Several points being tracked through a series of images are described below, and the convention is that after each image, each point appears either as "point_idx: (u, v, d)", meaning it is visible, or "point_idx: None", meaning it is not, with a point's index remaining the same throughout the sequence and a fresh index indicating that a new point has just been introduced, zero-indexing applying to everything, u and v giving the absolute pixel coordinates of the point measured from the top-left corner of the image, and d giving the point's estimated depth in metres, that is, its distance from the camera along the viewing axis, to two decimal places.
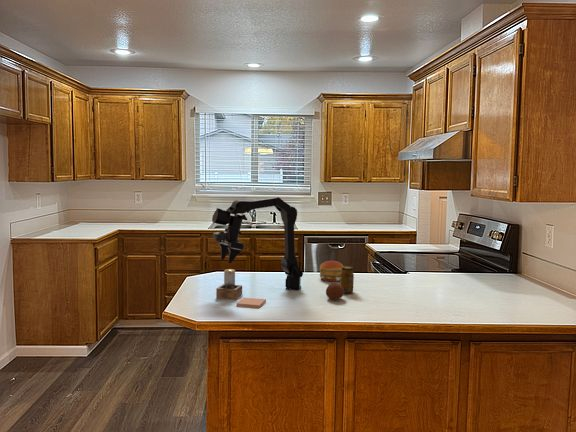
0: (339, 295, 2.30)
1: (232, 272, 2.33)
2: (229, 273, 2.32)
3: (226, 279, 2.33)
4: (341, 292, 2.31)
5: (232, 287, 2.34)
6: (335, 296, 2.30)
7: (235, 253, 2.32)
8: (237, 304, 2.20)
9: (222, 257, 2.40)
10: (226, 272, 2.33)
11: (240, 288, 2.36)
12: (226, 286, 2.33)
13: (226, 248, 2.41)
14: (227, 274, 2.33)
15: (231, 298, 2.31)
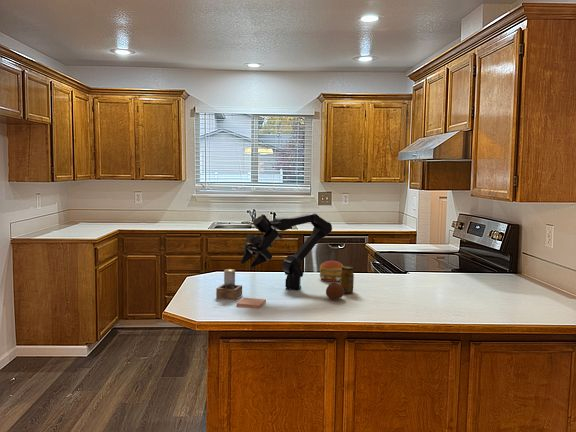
0: (339, 295, 2.30)
1: (232, 272, 2.33)
2: (229, 273, 2.32)
3: (226, 279, 2.33)
4: (341, 292, 2.31)
5: (232, 287, 2.34)
6: (335, 296, 2.30)
7: (260, 260, 2.36)
8: (237, 304, 2.20)
9: (242, 261, 2.43)
10: (226, 272, 2.33)
11: (240, 288, 2.36)
12: (226, 286, 2.33)
13: (249, 255, 2.45)
14: (227, 274, 2.33)
15: (231, 298, 2.31)
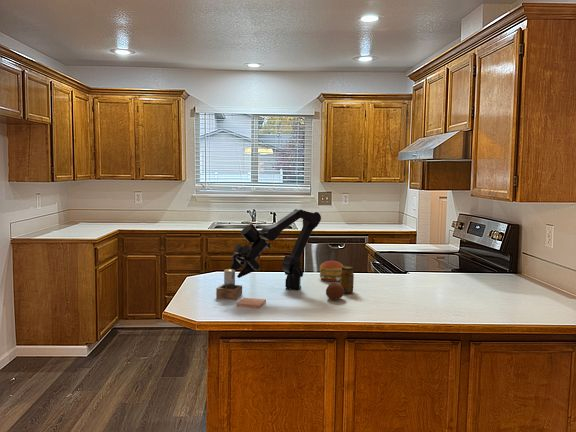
0: (339, 295, 2.30)
1: (232, 272, 2.33)
2: (229, 273, 2.32)
3: (226, 279, 2.33)
4: (341, 292, 2.31)
5: (232, 287, 2.34)
6: (335, 296, 2.30)
7: (248, 271, 2.33)
8: (237, 304, 2.20)
9: None
10: (226, 272, 2.33)
11: (240, 288, 2.36)
12: (226, 286, 2.33)
13: (237, 265, 2.42)
14: (227, 274, 2.33)
15: (231, 298, 2.31)
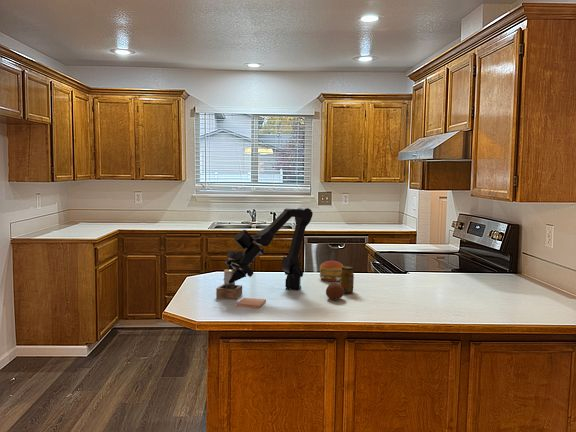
0: (339, 295, 2.30)
1: (232, 272, 2.33)
2: (229, 273, 2.32)
3: (226, 279, 2.33)
4: (341, 292, 2.31)
5: (232, 287, 2.34)
6: (335, 296, 2.30)
7: (239, 276, 2.33)
8: (237, 304, 2.20)
9: None
10: (226, 272, 2.33)
11: (240, 288, 2.36)
12: (226, 286, 2.33)
13: None
14: (227, 274, 2.33)
15: (231, 298, 2.31)
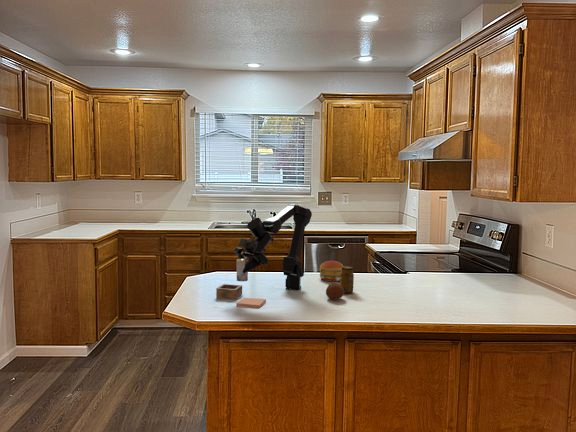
0: (339, 295, 2.30)
1: (246, 261, 2.24)
2: (243, 262, 2.24)
3: (239, 269, 2.24)
4: (341, 292, 2.31)
5: (246, 277, 2.25)
6: (335, 296, 2.30)
7: (253, 265, 2.25)
8: (237, 304, 2.20)
9: None
10: (239, 261, 2.24)
11: (240, 288, 2.36)
12: (239, 276, 2.24)
13: None
14: (241, 263, 2.24)
15: (231, 298, 2.31)
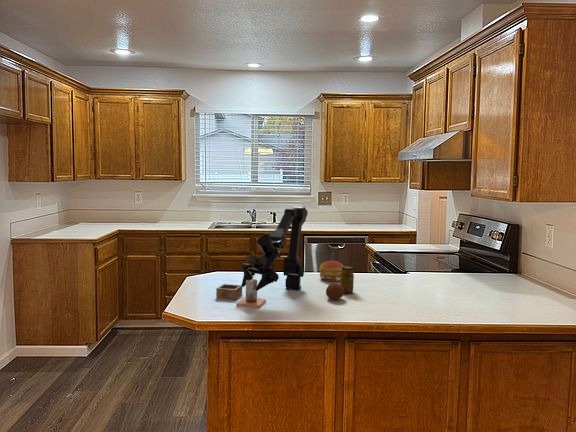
0: (339, 295, 2.30)
1: (255, 282, 2.22)
2: (253, 283, 2.21)
3: (249, 290, 2.21)
4: (341, 292, 2.31)
5: (255, 298, 2.23)
6: (335, 296, 2.30)
7: (266, 282, 2.21)
8: (237, 304, 2.20)
9: (243, 284, 2.26)
10: (249, 282, 2.21)
11: (240, 288, 2.36)
12: (249, 297, 2.22)
13: (249, 277, 2.29)
14: (250, 284, 2.21)
15: (231, 298, 2.31)
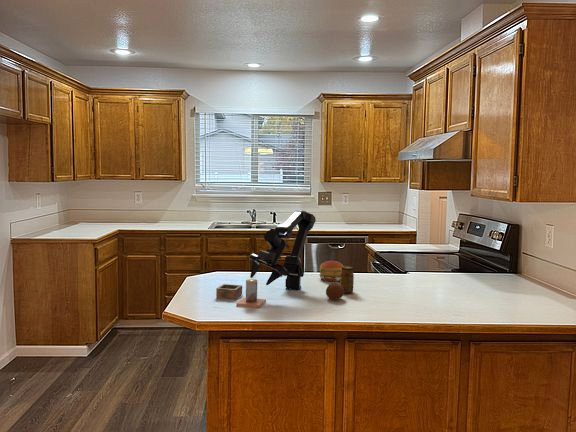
0: (339, 295, 2.30)
1: (255, 282, 2.22)
2: (253, 283, 2.21)
3: (249, 290, 2.21)
4: (341, 292, 2.31)
5: (256, 298, 2.23)
6: (335, 296, 2.30)
7: (275, 277, 2.32)
8: (237, 304, 2.20)
9: (252, 275, 2.36)
10: (249, 282, 2.21)
11: (240, 288, 2.36)
12: (249, 297, 2.22)
13: (257, 267, 2.38)
14: (251, 284, 2.21)
15: (231, 298, 2.31)
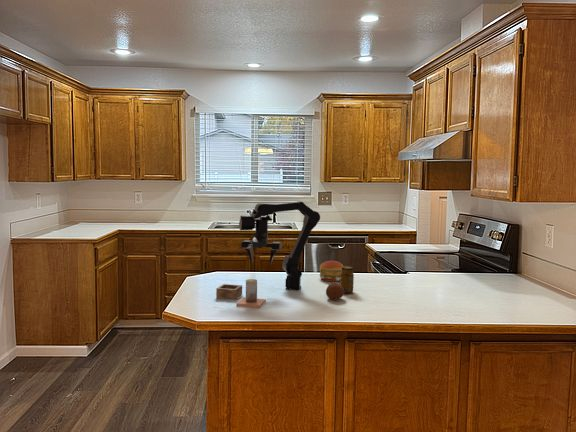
0: (339, 295, 2.30)
1: (255, 282, 2.22)
2: (253, 283, 2.21)
3: (249, 290, 2.21)
4: (341, 292, 2.31)
5: (256, 298, 2.23)
6: (335, 296, 2.30)
7: (274, 252, 2.47)
8: (237, 304, 2.20)
9: (252, 260, 2.48)
10: (249, 282, 2.21)
11: (240, 288, 2.36)
12: (249, 297, 2.22)
13: (251, 250, 2.49)
14: (250, 284, 2.21)
15: (231, 298, 2.31)
